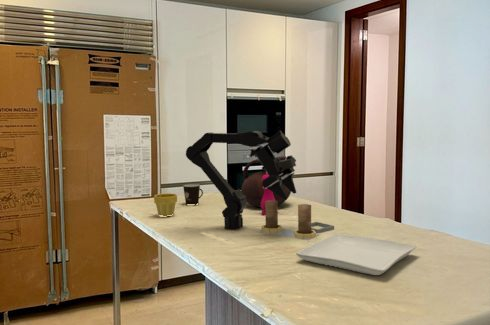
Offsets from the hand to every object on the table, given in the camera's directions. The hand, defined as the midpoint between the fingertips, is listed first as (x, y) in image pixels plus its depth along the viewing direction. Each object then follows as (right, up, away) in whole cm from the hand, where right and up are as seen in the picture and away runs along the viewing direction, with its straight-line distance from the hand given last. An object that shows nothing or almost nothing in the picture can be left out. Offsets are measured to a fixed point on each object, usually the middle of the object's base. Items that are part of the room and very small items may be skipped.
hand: (291, 196), depth 159 cm
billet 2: (+4, -14, -5) cm, 15 cm away
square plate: (+17, -18, -28) cm, 37 cm away
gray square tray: (+10, -14, +5) cm, 18 cm away
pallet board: (-1, -15, 0) cm, 15 cm away
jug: (-6, -10, +58) cm, 59 cm away
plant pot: (-53, -12, +39) cm, 67 cm away
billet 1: (-7, -13, +4) cm, 15 cm away
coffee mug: (-44, -10, +65) cm, 79 cm away
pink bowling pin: (-6, -12, +39) cm, 41 cm away
